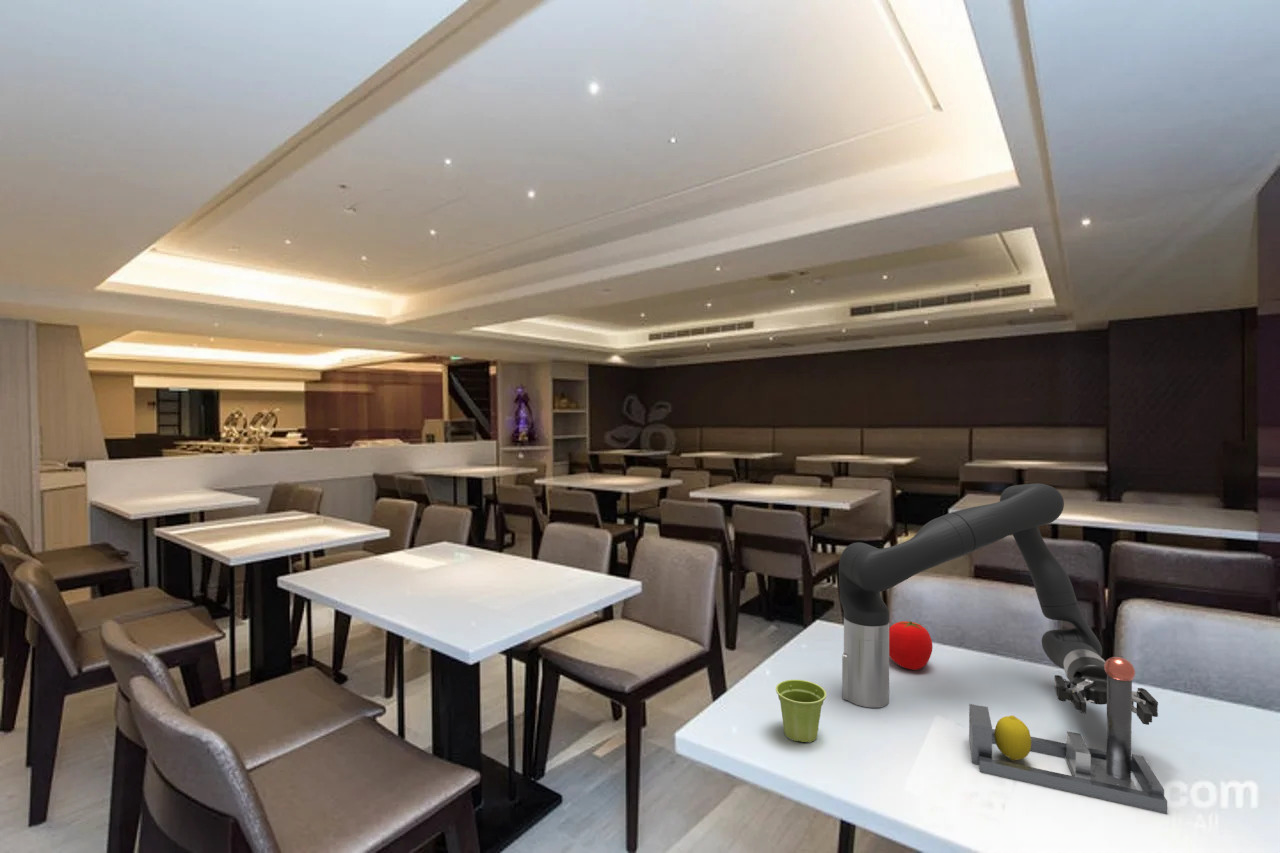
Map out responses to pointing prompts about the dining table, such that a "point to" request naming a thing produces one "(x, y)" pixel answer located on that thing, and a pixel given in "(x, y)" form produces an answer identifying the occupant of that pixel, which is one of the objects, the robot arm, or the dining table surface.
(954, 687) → the dining table surface
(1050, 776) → the frame
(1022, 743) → the lemon
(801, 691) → the plant pot
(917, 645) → the tomato
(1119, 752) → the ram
